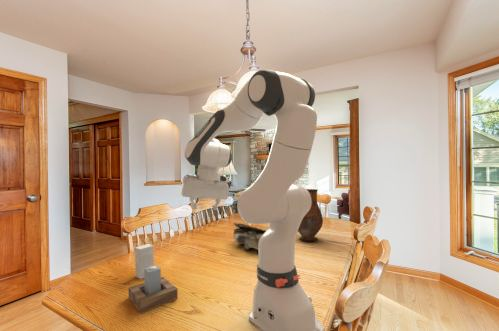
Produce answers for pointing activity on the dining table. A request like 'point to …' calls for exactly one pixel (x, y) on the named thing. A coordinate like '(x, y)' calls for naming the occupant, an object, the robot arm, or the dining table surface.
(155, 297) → the socket block
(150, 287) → the post
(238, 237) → the hollow geode rock
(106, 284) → the dining table surface
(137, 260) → the skincare box
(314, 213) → the brown vase
